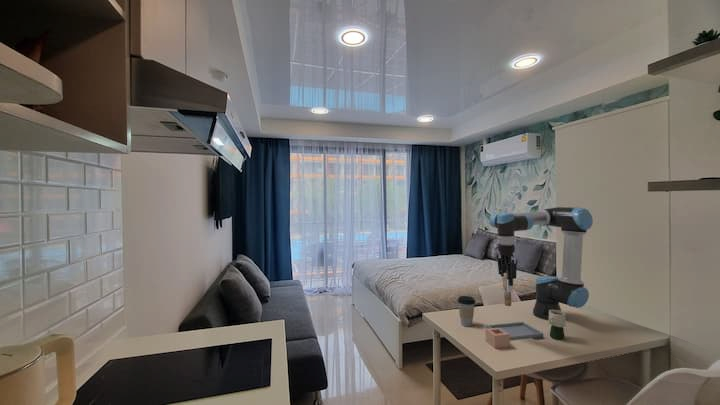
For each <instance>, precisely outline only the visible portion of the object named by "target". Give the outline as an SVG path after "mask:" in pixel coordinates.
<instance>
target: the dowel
mask: <svg viewBox="0 0 720 405" xmlns="http://www.w3.org/2000/svg"><path fill="white" fill-rule="evenodd" d="M507 278H508V275H507V273H504V290H503V291H504V292H503V293H504V294H503V295H504V306H506V307H512V292H507Z"/></svg>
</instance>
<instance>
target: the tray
mask: <svg viewBox="0 0 720 405" xmlns="http://www.w3.org/2000/svg"><path fill="white" fill-rule="evenodd" d="M485 326H486V327H485V329H490V328H501V329H503V330H504V331H506V332H507V333H508V334H510V340H511V341H512V340H513V341H514V340H521V339H532V340H539V339H544V333H543V332H541V331H540V330H538V329H536V328H535V327H534V326H531V325H529V324H528V323H526V322H525V321H517V322H507V323H495V324H486V325H485Z"/></svg>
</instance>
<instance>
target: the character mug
mask: <svg viewBox="0 0 720 405" xmlns="http://www.w3.org/2000/svg"><path fill="white" fill-rule="evenodd" d="M566 317H567V316H566V312H564V311H562V310H561V311H559V310H549V320H548V324H550V325H551V326H550V330H549V336H550V337H552V338H553V339H557V340H564V339H565V338H566V337H565V331H564V330H565V329H564V327H566V325H567V323H566Z"/></svg>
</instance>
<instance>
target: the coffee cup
mask: <svg viewBox="0 0 720 405" xmlns="http://www.w3.org/2000/svg"><path fill="white" fill-rule="evenodd" d="M457 302H458V311H459V317H460V325H462V327H467V328H470V327H472V326H473V322H474V321H473V319H474V314H475V313H474V312H475V304H476V300H475V298H474V297H472V296H469V295H461V296H459V297H458V298H457Z"/></svg>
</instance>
